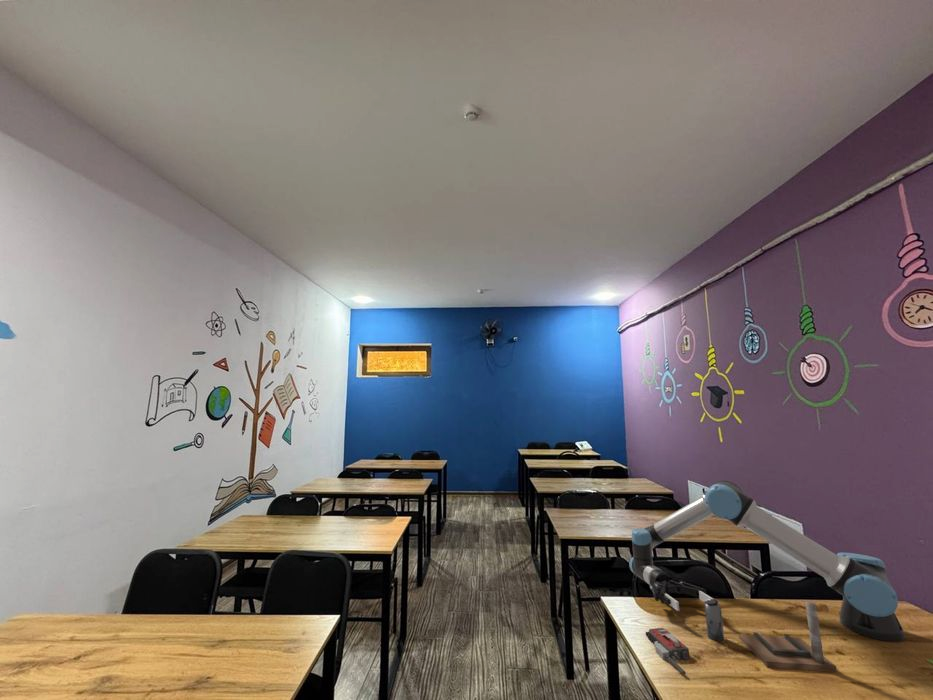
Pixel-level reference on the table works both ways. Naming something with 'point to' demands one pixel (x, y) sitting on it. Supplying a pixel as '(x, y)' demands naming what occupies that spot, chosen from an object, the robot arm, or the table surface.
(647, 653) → the table surface
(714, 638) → the grey metal canister
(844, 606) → the robot arm
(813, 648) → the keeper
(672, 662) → the walkie-talkie
